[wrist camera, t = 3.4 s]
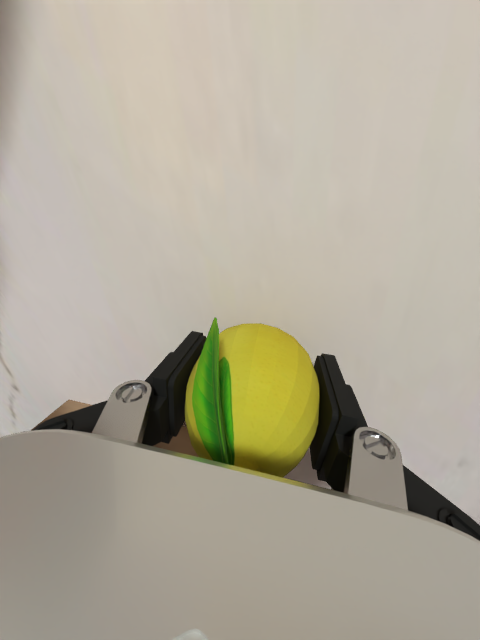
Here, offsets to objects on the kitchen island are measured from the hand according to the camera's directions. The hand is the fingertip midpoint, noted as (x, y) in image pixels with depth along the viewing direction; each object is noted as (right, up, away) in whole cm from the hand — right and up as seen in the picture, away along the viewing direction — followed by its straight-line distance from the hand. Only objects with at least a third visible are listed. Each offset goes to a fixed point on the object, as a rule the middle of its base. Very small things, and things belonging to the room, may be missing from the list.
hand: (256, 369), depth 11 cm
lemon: (+1, +1, +2) cm, 2 cm away
